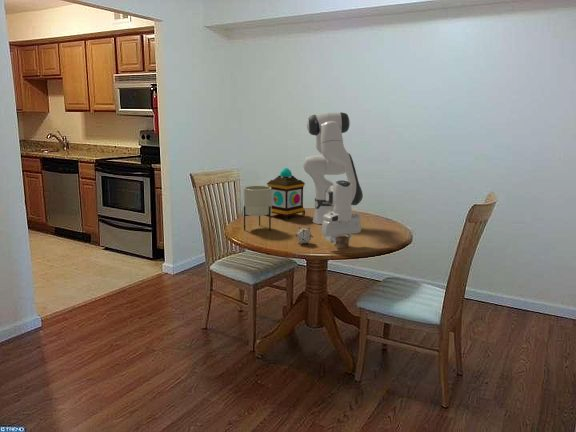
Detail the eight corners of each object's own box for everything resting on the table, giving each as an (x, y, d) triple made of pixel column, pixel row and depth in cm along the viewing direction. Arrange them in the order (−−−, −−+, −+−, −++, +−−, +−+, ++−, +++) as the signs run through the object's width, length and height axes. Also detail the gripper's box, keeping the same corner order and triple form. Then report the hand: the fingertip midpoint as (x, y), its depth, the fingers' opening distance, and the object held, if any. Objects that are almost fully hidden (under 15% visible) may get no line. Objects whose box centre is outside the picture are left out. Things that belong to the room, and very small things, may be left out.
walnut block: (342, 244, 227) (343, 234, 226) (348, 247, 223) (348, 237, 222) (334, 245, 225) (334, 235, 224) (339, 248, 221) (339, 238, 220)
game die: (300, 250, 230) (290, 233, 232) (314, 243, 232) (305, 225, 234) (302, 246, 222) (293, 228, 224) (318, 238, 224) (308, 220, 226)
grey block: (333, 238, 239) (334, 229, 238) (338, 240, 234) (339, 231, 233) (325, 239, 237) (325, 230, 235) (330, 242, 232) (330, 232, 231)
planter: (239, 227, 260) (238, 186, 255) (264, 224, 267) (264, 184, 262) (249, 233, 247) (248, 190, 242) (276, 230, 254) (276, 188, 249)
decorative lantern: (263, 216, 289) (262, 167, 282) (284, 211, 303) (285, 165, 296) (286, 221, 275) (287, 170, 269) (308, 216, 290) (309, 167, 283)
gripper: (356, 212, 228) (355, 239, 231) (320, 215, 219) (319, 244, 222) (364, 214, 222) (363, 242, 225) (327, 218, 214) (326, 247, 217)
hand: (341, 243), depth 224 cm, fingers closed on walnut block, 5 cm apart
